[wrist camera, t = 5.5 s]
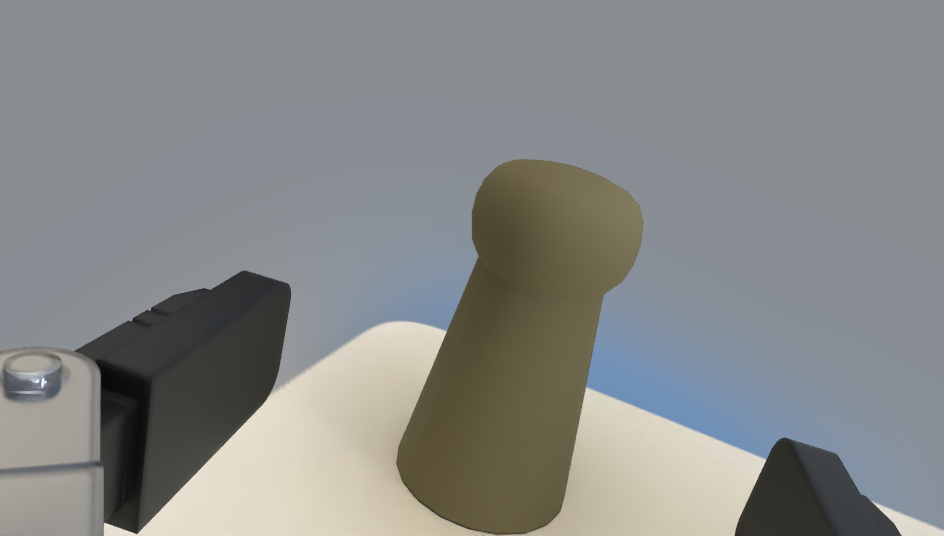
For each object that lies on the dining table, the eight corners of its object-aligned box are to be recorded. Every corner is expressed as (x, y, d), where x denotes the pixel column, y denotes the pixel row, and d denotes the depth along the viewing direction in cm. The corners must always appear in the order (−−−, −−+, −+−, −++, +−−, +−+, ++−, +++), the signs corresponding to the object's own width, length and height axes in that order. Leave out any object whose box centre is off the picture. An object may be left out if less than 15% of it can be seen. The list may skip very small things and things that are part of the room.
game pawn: (539, 428, 28) (626, 165, 24) (587, 540, 22) (710, 221, 18) (390, 411, 26) (459, 128, 22) (403, 526, 21) (497, 177, 17)
